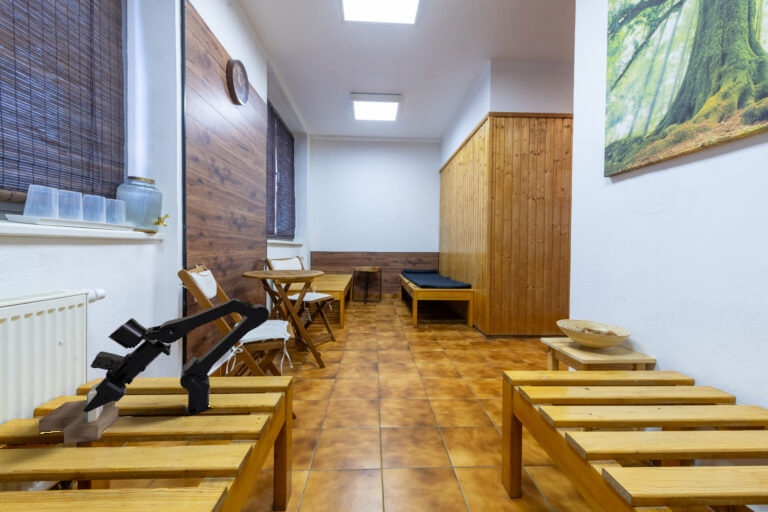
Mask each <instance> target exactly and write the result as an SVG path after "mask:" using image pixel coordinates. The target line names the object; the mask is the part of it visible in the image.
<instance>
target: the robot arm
mask: <svg viewBox="0 0 768 512" xmlns="http://www.w3.org/2000/svg"><path fill="white" fill-rule="evenodd" d="M233 313H235V314H239V315H241V316H243V317H242V319H240V321H239V322H238V323H237V324H236V326H235V327H233V328H232V329H231V330H230V331H229V332H228V333H227V334H226V335H224V337H222V338H221V339H220V340H219V341H218V342H217V343H216V344H214V346H212V348H210V349H209V350H208V351H207V352H206V353H205V354H204V355H202V356H200V357H198V358H197V357H196V355H194V356H192V358H191V359H190V360H189V361H188V362H187V363H184V364H183V368H182V370H181V371H180V377H179V385H180V387H181V388H183V389H184V390H186V391H187V392H188V393H187V405H188V407H183V409H184V410H185V412H186V413H187V414H188V415H189V416H192V415H196V414H199V413H202V412H205V411H208V410H211V409H212V408H211V407H208V405H209V402H210V388H211V383H210V381H211V380H210V375H208V374H209V373H210V371H211V369H212V367H213V366H214V365H215V364H216V363H217V362H219V361H220V359H222V358H223V356H225V355H226V354H227V353H228V352H229V351H230V350H231V349H232V348H233V347H234V346H235V345H236V344H237V343H238V342H240V341H241V340H242V339H243V338H244V337H245V336H246V335H247V334H248V333H249V332H251V331H253V330H255V329H257V328H259V327H260V326H262V325H264V323H266V322H267V321H268V319H269V318H270V312H269V310H268V308H267V307H265V306H264V305H263V304H261V303H256V304H253V303H249V302H246V301H241V300H240V299H237V298H233V297H232V298H230V299H229V300H227V301H225V302H223V303H220V304H217V305H214V306H212V307H210V308H207V309H205V310H202V311H199V312H197V313H196V314H192V315H189V316H185V317H184V316H183V317H179V318H178V317H177V318H175V319H174V318H173V319H170V320H166V321H164V322H162V324H161V325H155V326H151V327H148V328H146V327H145V326H143V325H142V324H140V323H139V322H138V321H137V320H136V319H135V318H133V317H131V318H130V319H128V320H127V321H126V322H125V323H123V324H121V325H119V327H118V328H116V329H115V330H114V331H113V332H111V333H110V335H108V336H107V338H109V339H110V340H112V341H114V342H115V343H116V344H118V345H119V346H121V347H122V348H124V349H126V350H127V349H134V348H135V349H134V350H133V351H131V352H130V353H127V354H126V355H125V356H122V355H119V354H116V353H112V352H107V351H99V352H98V353H97V354H96V356H95V358H94V359H93V360H92V362H91V364H90V366H89V367H90V368H93V369H94V370H95V369H101V370H103V371H105V370H106V373H105V377H104V379H101V381H100V382H99V383H97V384H98V385H97V386H96V388H95V390H96V391H97V394H96V395H95V396H94V397H93V399H92V400H91V401H90V402H89V403H88V405H87V406H86V407H85V408H84V410H83V411H84V412H89V411H91V410H94V409H96V408H98V407H100V406H102V405H105V404H107V403H109V402H112V401H115V403H116V402H119V401H120V400H122V398H123V397H124V396H125V395H126V392H127V385H130V384H131V383H133V381H134V379H135V378H137V376H139V374H141V373H143V372H144V371H146V369H147V367H148V366H149V365H150V364H151V363H153V362H154V361H155V359H157V358H158V357H159V356H160V355H161V354H162V353H163V354H164V355H166V356H171V348H172V344H173V343H176V342H177V341H179V340H180V339H182V338H183V337H186V335H188V334H190V333H191V332H192V331H194V330H196V329H197V328H200V327H202V326H204V325H207V324H208V323H211V322H213V321H216V320H219V319H221V318H223V317H225V316H228V315H230V314H233ZM141 342H142V343H141ZM140 343H141V344H140ZM139 344H140V345H139ZM138 345H139V346H138Z"/></svg>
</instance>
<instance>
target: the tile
mask: <svg viewBox="0 0 768 512" xmlns="http://www.w3.org/2000/svg"><path fill="white" fill-rule="evenodd" d="M98 384H99V383H96V384H94V385H93V386H92V387H91V388H90V390H89V391H88V392H87V394H86V400H87V405H88V403H89V402H90V401H91V400H92V399H93V397H94V396H95V395H96V394H97V391H96V390H95V388H96V386H97V385H98ZM102 410H103V405H102V406H100V407H98V408H96V409H94V410H91V411H89V412H87V422H92V421H96V420H97V419H98V417H99V415H100V414H101V412H102Z"/></svg>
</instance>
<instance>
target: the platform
mask: <svg viewBox="0 0 768 512" xmlns="http://www.w3.org/2000/svg"><path fill="white" fill-rule="evenodd" d="M86 406H87V399H83V400H72V401H66V402H64V403H62V404H60V405H59V406H58V407H56V408H55V409H53V410H52V411H50V412H49V413H48V414H45V416H43V417H41V418H39V420H38V434H39V433H41V432H51V431H64V432H63V445H70V444H77V443H84V442H92V441H98V440H100V439H101V438H102V437H103V436H102V434H103V432H104V431H105V430H107V429H108V428H110V427H111V426H112V427H113V426H114V425H115V424H116V423H117V422H119V406H116V402H115V401H112V402H109V403H107V404H105V405H103V410H102V412H101V414H100V415H99V417H98V419H97V420H96V421H92V422H87V412H84V411H83V410H84V408H85V407H86ZM112 427H111V428H112ZM111 428H110V429H111Z"/></svg>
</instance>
